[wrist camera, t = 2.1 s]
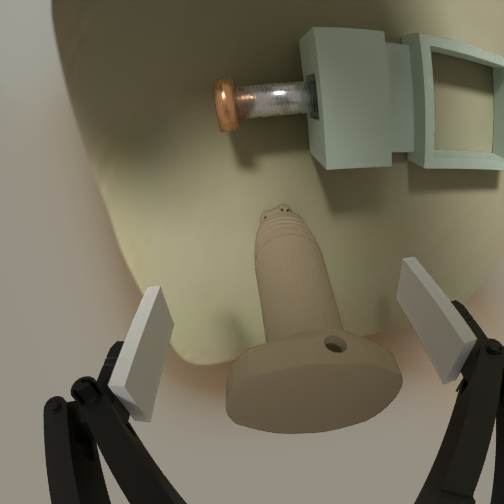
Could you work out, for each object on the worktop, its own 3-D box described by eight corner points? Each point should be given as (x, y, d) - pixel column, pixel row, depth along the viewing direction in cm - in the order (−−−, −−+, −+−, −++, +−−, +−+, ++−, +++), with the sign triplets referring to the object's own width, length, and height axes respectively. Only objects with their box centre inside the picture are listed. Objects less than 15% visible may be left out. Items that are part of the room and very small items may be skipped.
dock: (296, 30, 15) (311, 13, 11) (496, 61, 14) (533, 64, 10) (310, 163, 20) (327, 183, 16) (496, 161, 19) (530, 179, 15)
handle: (240, 186, 21) (231, 359, 8) (328, 199, 21) (423, 359, 8) (233, 246, 23) (221, 431, 10) (313, 255, 24) (368, 428, 11)
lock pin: (217, 81, 16) (211, 79, 14) (327, 72, 16) (342, 69, 13) (224, 128, 18) (220, 135, 15) (331, 119, 18) (346, 124, 15)
